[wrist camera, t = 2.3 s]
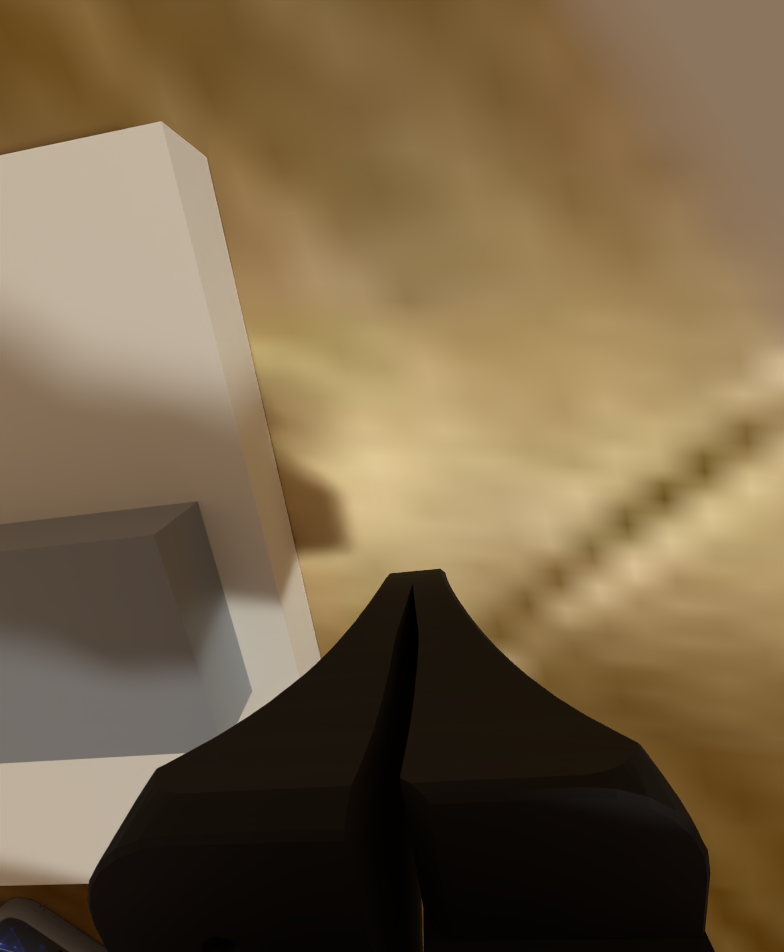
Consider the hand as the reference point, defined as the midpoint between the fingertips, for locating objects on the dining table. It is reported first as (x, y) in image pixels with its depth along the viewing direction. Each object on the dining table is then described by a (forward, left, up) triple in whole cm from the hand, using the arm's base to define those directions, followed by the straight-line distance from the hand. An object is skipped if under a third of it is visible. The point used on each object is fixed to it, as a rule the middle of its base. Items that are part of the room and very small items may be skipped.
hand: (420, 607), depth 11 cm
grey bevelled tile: (0, +10, -1) cm, 10 cm away
